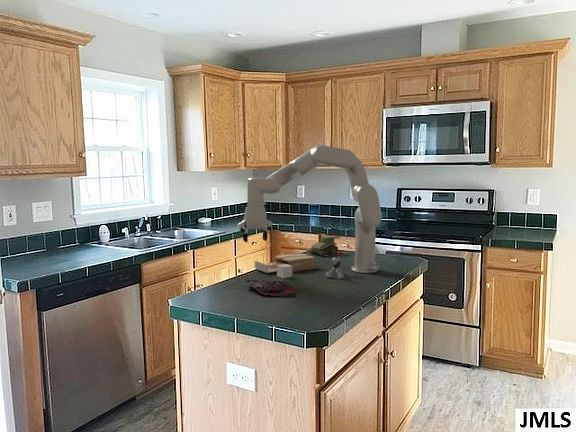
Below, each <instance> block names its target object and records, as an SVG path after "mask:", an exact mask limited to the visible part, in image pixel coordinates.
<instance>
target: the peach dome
mask: <svg viewBox="0 0 576 432" xmlns="http://www.w3.org/2000/svg"><path fill="white" fill-rule="evenodd" d="M266 264H267V265H268V268H271V269H276V268H277V265H282V263H277V262H274V261H273V262H267V263H266Z"/></svg>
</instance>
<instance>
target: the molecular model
mask: <svg viewBox="0 0 576 432" xmlns="http://www.w3.org/2000/svg"><path fill="white" fill-rule="evenodd" d="M336 255H337V256H338V258H337V257H333V258H332V259H331V261H332V263H333V264H332V266H333V267H332V268H331V269H330V271H327V272H326V273H325V277H326V278H327V279H329V278H331V277H332V273H333V271H334V270H335V269H336V270H335V271H336V274H337V278H338V279H339V280H341V279H343V278H344V277H345V276H344V274H343V273H342V272H343V269H341V266H342V262H341V261H340V260H341V258H342V257H343V255H344V254H343V252H342V251H341V250H340V251H339V250H338V253H337V254H336Z"/></svg>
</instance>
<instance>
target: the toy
mask: <svg viewBox="0 0 576 432" xmlns="http://www.w3.org/2000/svg"><path fill="white" fill-rule="evenodd" d="M340 238H341V236H340V235H337V236H332V235H324V236H321V237H320V241H318V242H316V243H314V244H313V245H311V246H310V249H309V254H311V255H313V254H315V255H319V256H320V257H321V256H322V258H325V257H324V256H325V255H330V254H336V255H337V253H338V252H339V247H338V246H337V245H338V243H336V242H335V239H340Z"/></svg>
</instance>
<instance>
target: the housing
mask: <svg viewBox="0 0 576 432" xmlns="http://www.w3.org/2000/svg"><path fill="white" fill-rule="evenodd" d="M316 260H317V258H316V257H315V256H312V255H309V254H305V253H302V252H293V253H288V254H287V253H286V254H279V255H274V261H273V262H277V263H279V262H281V263H284V264H288V265H291V266H292V273H294V272H300V271H306V270H314V269H316V267H317V266H316V263H317V262H316Z"/></svg>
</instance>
